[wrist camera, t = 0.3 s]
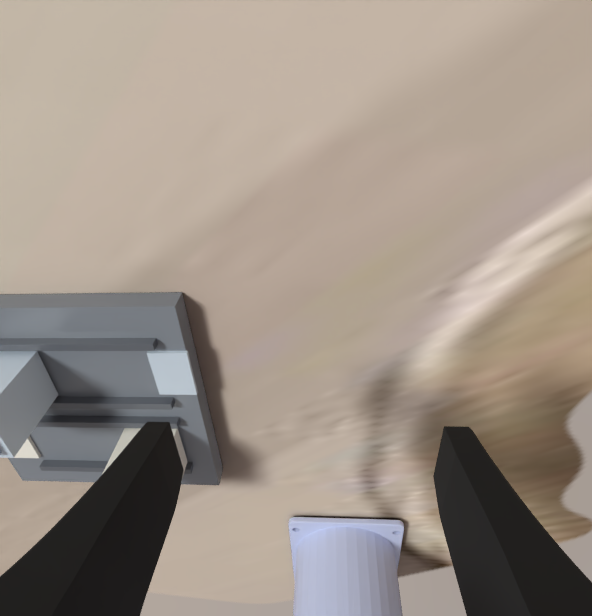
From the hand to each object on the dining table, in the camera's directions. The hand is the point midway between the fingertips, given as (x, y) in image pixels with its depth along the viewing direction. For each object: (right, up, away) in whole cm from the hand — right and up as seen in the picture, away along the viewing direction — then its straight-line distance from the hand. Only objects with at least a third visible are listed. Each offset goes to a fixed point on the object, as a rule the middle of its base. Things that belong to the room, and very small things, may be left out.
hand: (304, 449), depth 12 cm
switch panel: (-12, -1, +13) cm, 18 cm away
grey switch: (-14, 0, +11) cm, 18 cm away
